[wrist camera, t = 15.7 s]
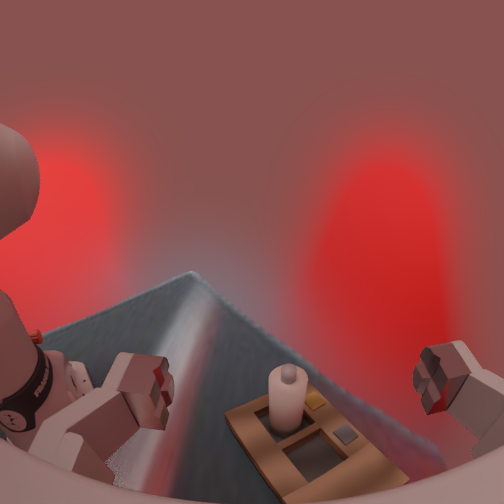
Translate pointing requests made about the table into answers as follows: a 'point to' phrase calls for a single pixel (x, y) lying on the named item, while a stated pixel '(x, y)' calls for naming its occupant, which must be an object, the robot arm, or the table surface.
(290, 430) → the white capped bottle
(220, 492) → the table surface
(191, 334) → the table surface
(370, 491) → the board
